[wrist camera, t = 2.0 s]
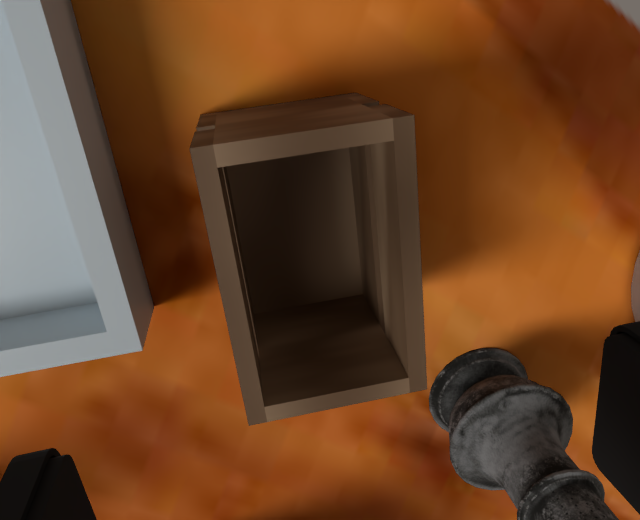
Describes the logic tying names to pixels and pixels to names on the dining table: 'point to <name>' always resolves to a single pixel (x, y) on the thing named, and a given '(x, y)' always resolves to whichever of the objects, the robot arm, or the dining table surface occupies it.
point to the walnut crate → (315, 250)
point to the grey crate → (60, 204)
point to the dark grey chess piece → (513, 437)
